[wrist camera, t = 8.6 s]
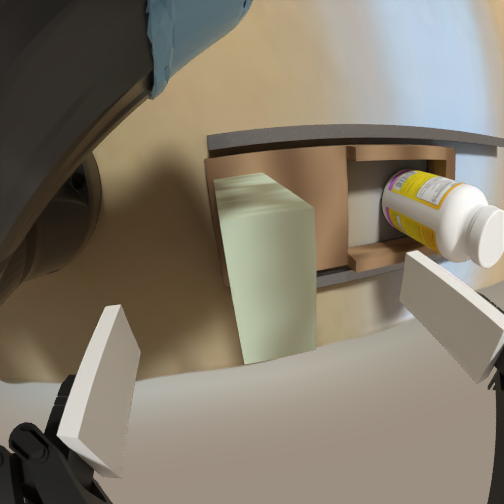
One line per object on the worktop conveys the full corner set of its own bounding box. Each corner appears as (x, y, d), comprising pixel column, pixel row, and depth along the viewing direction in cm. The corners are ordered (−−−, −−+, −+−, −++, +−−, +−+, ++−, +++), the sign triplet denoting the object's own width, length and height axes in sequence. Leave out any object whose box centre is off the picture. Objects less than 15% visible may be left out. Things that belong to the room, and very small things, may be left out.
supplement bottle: (417, 230, 29) (498, 281, 17) (373, 224, 28) (458, 282, 16) (430, 174, 27) (521, 205, 15) (386, 160, 25) (485, 188, 14)
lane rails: (231, 295, 28) (233, 303, 27) (206, 135, 22) (206, 135, 21) (488, 239, 32) (495, 242, 31) (496, 137, 26) (504, 138, 24)
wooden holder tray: (224, 280, 27) (239, 385, 15) (204, 158, 23) (200, 182, 11) (431, 241, 30) (510, 292, 18) (436, 145, 25) (532, 167, 13)
